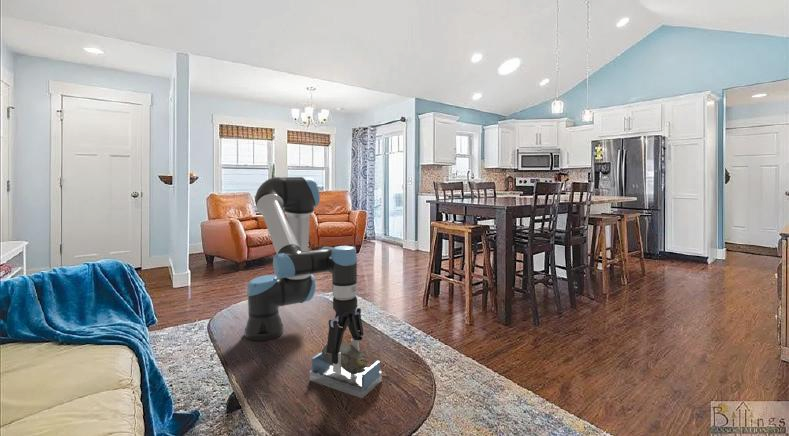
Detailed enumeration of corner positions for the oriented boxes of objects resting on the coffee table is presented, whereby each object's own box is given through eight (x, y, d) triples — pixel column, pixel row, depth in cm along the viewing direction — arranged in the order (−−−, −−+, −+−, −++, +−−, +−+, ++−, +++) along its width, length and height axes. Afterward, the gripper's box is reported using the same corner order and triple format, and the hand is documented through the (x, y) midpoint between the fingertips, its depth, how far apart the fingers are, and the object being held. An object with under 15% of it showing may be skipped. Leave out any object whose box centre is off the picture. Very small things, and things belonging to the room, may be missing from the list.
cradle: (309, 380, 122) (309, 359, 121) (331, 365, 132) (331, 346, 131) (362, 398, 112) (361, 375, 112) (381, 380, 122) (381, 360, 121)
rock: (377, 354, 122) (359, 359, 113) (371, 375, 121) (353, 381, 113) (336, 335, 131) (316, 338, 122) (331, 355, 130) (311, 359, 122)
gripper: (332, 309, 108) (334, 384, 110) (373, 288, 126) (374, 354, 129) (312, 304, 111) (314, 378, 114) (355, 285, 130) (356, 349, 133)
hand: (346, 365), depth 121 cm, fingers closed on rock, 9 cm apart
